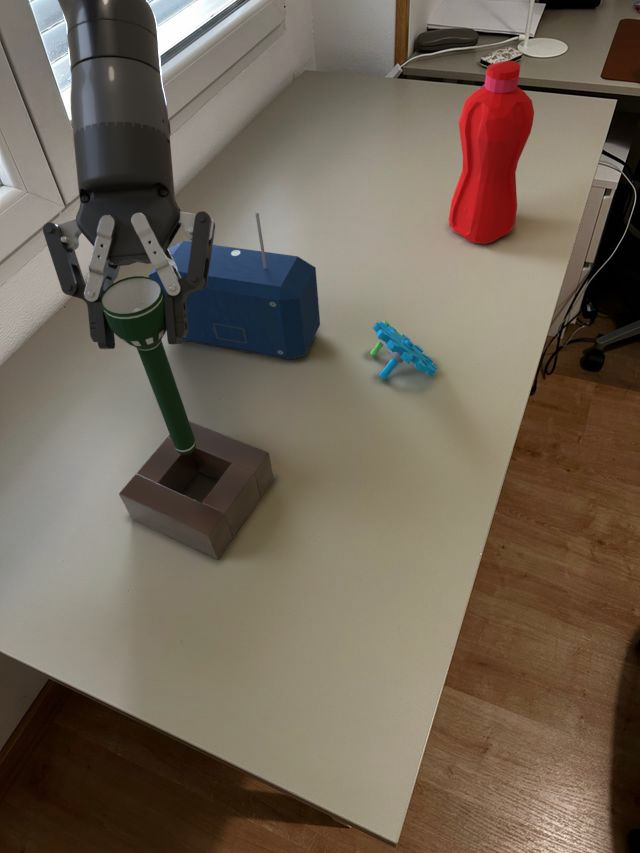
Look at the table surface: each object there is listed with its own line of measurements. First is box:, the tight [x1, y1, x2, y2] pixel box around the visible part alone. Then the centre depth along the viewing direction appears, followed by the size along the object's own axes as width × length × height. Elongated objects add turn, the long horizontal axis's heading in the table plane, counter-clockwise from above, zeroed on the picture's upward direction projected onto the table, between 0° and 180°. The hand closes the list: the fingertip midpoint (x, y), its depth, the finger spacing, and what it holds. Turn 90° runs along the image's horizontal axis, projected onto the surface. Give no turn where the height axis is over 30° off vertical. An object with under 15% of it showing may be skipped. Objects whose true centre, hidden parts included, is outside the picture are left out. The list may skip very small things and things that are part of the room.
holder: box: [118, 420, 275, 561], centre depth 72 cm, size 12×12×5 cm
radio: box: [148, 212, 321, 360], centre depth 84 cm, size 21×9×20 cm, turn 72°
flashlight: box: [101, 275, 196, 455], centre depth 60 cm, size 5×5×20 cm
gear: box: [369, 320, 439, 381], centre depth 84 cm, size 11×6×10 cm
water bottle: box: [448, 60, 535, 245], centre depth 96 cm, size 9×11×25 cm
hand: (141, 345), depth 54 cm, fingers closed on flashlight, 5 cm apart
